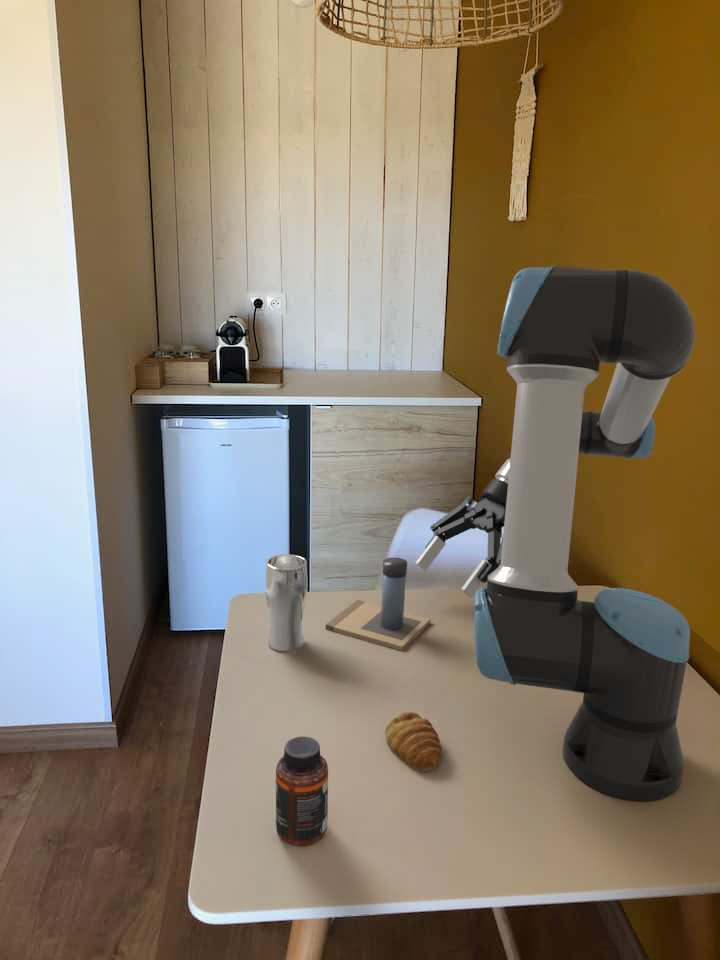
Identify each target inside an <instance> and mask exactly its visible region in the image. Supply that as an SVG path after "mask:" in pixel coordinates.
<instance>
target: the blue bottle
mask: <svg viewBox="0 0 720 960" xmlns="http://www.w3.org/2000/svg"><path fill="white" fill-rule="evenodd" d="M407 573H408V561H407V560H406V559H404V558H400V557H393V556H391V557H387V558H384V559H383V560H382V584H381V585H382V586H381V589H382V590H381V603H380V604H381V605H380V606H381V622H380V625H381V626H382V627H383V628H385V629H388V630H397V629H400V628H402V627H403V615H404V612H405V598H406V597H405V596H406V581H407Z"/></svg>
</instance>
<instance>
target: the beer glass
mask: <svg viewBox="0 0 720 960" xmlns="http://www.w3.org/2000/svg"><path fill="white" fill-rule="evenodd" d="M307 596H308V567H307V560H306V558H304V557H302V555H301V556H299V555H298V554H297V555H296V554H290V553H288V554H287V553H284V554H283V553H282V554H278V555H273V556H271V557H269V558H268V559H267V560H266V570H265V598H266V602H267V609H268V614H269V619H270V621H269V622H270V631H269V637H268V646H269V647H270V648H271V649H272V650H273V651H277V652H282V653H290V652H296V651H298V650H300V649H301V648H303V647H304V645H305V638H304V633H303V618H304V613H305V607H306V601H307V598H308V597H307Z"/></svg>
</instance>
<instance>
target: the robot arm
mask: <svg viewBox="0 0 720 960" xmlns="http://www.w3.org/2000/svg"><path fill="white" fill-rule="evenodd" d="M695 327H696V325H695V321H694V317H693V315H692V311H691V310H690V308H689V306H688V304H687V302H686V300H685V299H684V298H683V297H682V296H681V294H680V293H679V292H678V290H677V289H675V288H674V287H673V286H672V285H670V284H669V283H668V282H667V281H666V280H664V279H662V278H661V277H658V276H657V275H655V274H653V273H650V272H646V271H644V270H640V269H639V270H638V269H607V268H606V269H605V268H586V267H572V266H571V267H570V266H555V265H550V266H549V267H547V266H546V267H545V266H544V267H543V266H542V267H525V268H522V269H520V270H519V271H518V272H517V273H515V275H514V277H513V279H512V282H511V285H510V288H509V291H508V295H507V300H506V303H505V308H504V311H503V316H502V320H501V327H500V331H499V333H500V334H499V340H498V344H497V355H498V356H499V357H502V358H503V359H505V358H506V359H507V363H506V372H507V373H508V374H509V375H510V376H511V378H512V379H513V380H514V381H515V383H516V393H515V394H516V395H515V396H516V397H515V406H514V407H515V408H514V417H513V418H514V419H513V426H512V427H513V428H512V438H511V451H510V455H509V456H508V458H507V459H506V460H505V462H504V463H503V464H502V466H500V468H499V469H498V470H497V471H496V473H495V475H494V477H495V478H493V479H491V480H490V481H489V483H488V485H487V486H485V488H484V489H483V491H482V497H481V499H480V500H479V501H478V502H477V501H475V500H474V499H473V498H472V497H471V496H467V497H466V498H465V499H464V500H463V501H462V502H461V503H460V504H459V505H458V506H456V507H455V508H453V509H452V510H451V511H450V512H448V513H447V514H446V515H444V516H442V517H441V518H440V519H438V520H437V521H435V522H434V523H432V524H431V525H430V528H429V529H430V530H431V531H432V533H433V536H432V537H431V539H430V540H429V541H428V542H427V544H426V545H425V547H424V550H423V552H422V553H421V555H420V556H419V557H418V558H417V560H416V561H415V564H416V565H417V566H418V567H420V569H421V570H422V571H424V572H427V570H428V569H429V567H430V566H431V565H432V563H433V562H434V561H435V560H436V558H437V556H438V555H439V554H440V553H441V551H442V550H443V549H444V547H445V546H446V541H448V540H449V539H452V538H455V537H456V536H458V535H461V534H462V533H464V532H466V531H469V530H475V529H477V530H480V531H484V532H486V534H487V557H485V560H484V559H482V560H481V561H480V563H479V564H478V565H477V567H476V568H475V569H474V571H473V572H472V574H470V576H469V578H468V579H467V580H466V582H465V583H464V585H463V586H462V587H461V588H460V590H462V591H463V592H464V593H465V594H466V596H468V597H469V598H470V599H472V598H473V597H474V644H475V645H474V646H475V656H476V663H477V668H478V670H479V671H478V672H480V674H481V675H483V677H485V678H486V679H488V680H489V679H490V680H493V681H499V682H505V683H509V684H510V685H512V686H516V685H523V686H530V687H538V688H546V689H552V690H561V691H567V692H572V693H573V692H575V693H581V694H583V697H582V702H581V703H580V706H579V707H578V709H577V711H576V713H575V715H574V717H572V720H571V721H570V723H569V725H568V728H567V729H566V731H565V735H564V739H563V746H562V757H563V760H564V762H565V765H566V766H567V768H568V769H569V770H570V772H571V773H573V775H575V776H576V778H578V779H579V780H580V781H582V782H583V783H584V784H585V785H587V786H589V787H591V788H592V789H595V790H597V791H599V792H601V793H604V794H605V795H609V796H612V797H616V798H620V799H623V800H630V801H640V802H642V801H645V802H646V801H647V802H648V801H655V800H660V799H662V798H666V797H669V796H670V795H672V794H673V793H675V792H676V791H677V790H678V789H679V787H680V785H681V784H682V779H683V778H682V777H683V773H684V757H683V751H682V747H681V742H680V737H679V732H678V727H677V720H678V719H677V718H678V713H679V707H680V701H681V696H682V690H683V685H684V679H685V673H686V667H687V666H686V665H687V662H688V661H689V659H690V639H691V628H690V625H689V623H688V620H687V619H686V617H685V616H684V615H683V613H681V612H680V611H679V610H678V609H677V608H676V607H674V606H673V605H671V604H670V603H668V602H666V601H665V600H662V599H660V598H659V597H656V596H653V595H651V594H649V593H645V592H642V591H638V590H635V589H629V588H622V587H613V588H611V589H610V588H605V589H603V590H601V591H599V592H598V593H597V594H596V596H595V598H594V601H586V600H579V599H578V594H579V593H578V591H579V586H578V584H577V583H576V582H575V581H574V580H573V578H572V577H571V576H570V575H569V572H568V567H569V559H570V548H571V547H570V546H571V536H572V527H573V515H574V505H575V495H576V484H577V475H578V474H577V473H578V472H577V471H578V464H579V463H578V462H579V454H580V455H591V456H594V455H595V456H603V457H614V458H624V459H631V458H632V459H646V458H648V457H649V456H650V455H651V454H652V451H653V447H654V443H655V436H656V423H655V420H654V418H653V417H652V416H653V414H654V412H655V410H656V408H657V406H658V405H659V402H660V400H661V398H662V396H663V393H664V392H665V390H666V388H667V386H668V384H669V382H670V379H671V378H672V377H674V376H676V375H677V374H678V373H680V372H681V371H682V370H683V369H684V368H685V366H686V364H687V363H688V361H689V359H690V357H691V355H692V353H693V351H694V346H695V342H696V328H695ZM600 363H609V364H616V363H617V364H616V366H615V369H614V373H613V375H612V379H611V381H610V385H609V388H608V390H607V394H606V397H605V401H604V404H603V406H602V409H601V411H593V410H592V411H590V410H583V409H584V400H585V392H586V388H587V386H588V385H590V384H591V383H592V382H593V381H594V380H596V378H599V373H600ZM502 532H503V533H502ZM483 583H484V584H485V583H486V587H481V586H482V585H483Z"/></svg>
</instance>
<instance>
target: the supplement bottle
mask: <svg viewBox="0 0 720 960" xmlns="http://www.w3.org/2000/svg"><path fill="white" fill-rule="evenodd" d="M283 748H284V749H283V750H284V752H283V753H284V754H283V756H282V757H281V758H280V759H279V760H278V762H277V764H276V766H275V767H276V768H275V828H276V835H278V838H280V840H281V841H283V842H284V843H286V844H287V845H291V846H293V847H308V846H311V845H314V844H316V843H319V841H320V840H322V839H323V838H324V836H325V834H326V833H327V829H328V818H329V817H328V812H329V811H328V809H329V808H328V807H329V806H328V805H329V803H328V801H329V798H328V796H329V795H328V794H329V768H328V767H329V766H328V763H327V760H326V759H325V758H324V756H322V755H321V745H320V743H319V741H318V740H316V739H315V738H313V737H310V736H296V737H293V738H291V739H289V740H288V741H286V743H285V745H284V747H283Z"/></svg>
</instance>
